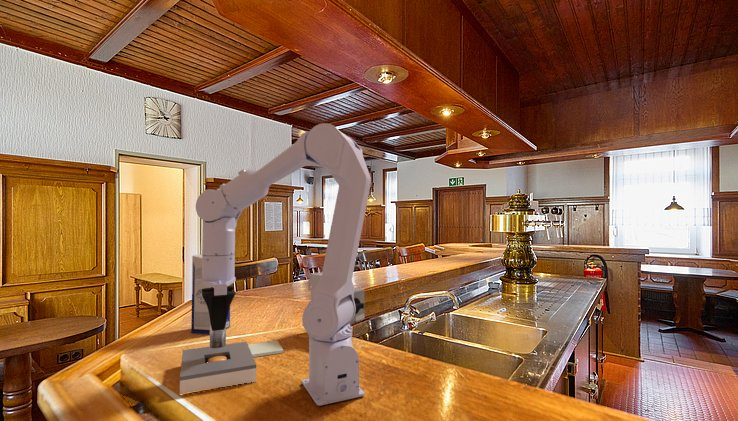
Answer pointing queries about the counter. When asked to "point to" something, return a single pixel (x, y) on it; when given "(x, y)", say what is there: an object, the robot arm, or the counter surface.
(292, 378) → the counter surface
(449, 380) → the counter surface
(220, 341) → the shiny metal cylinder
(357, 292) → the circuit breaker
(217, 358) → the plunger
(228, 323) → the milk carton
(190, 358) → the box
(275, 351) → the pad
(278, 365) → the counter surface
